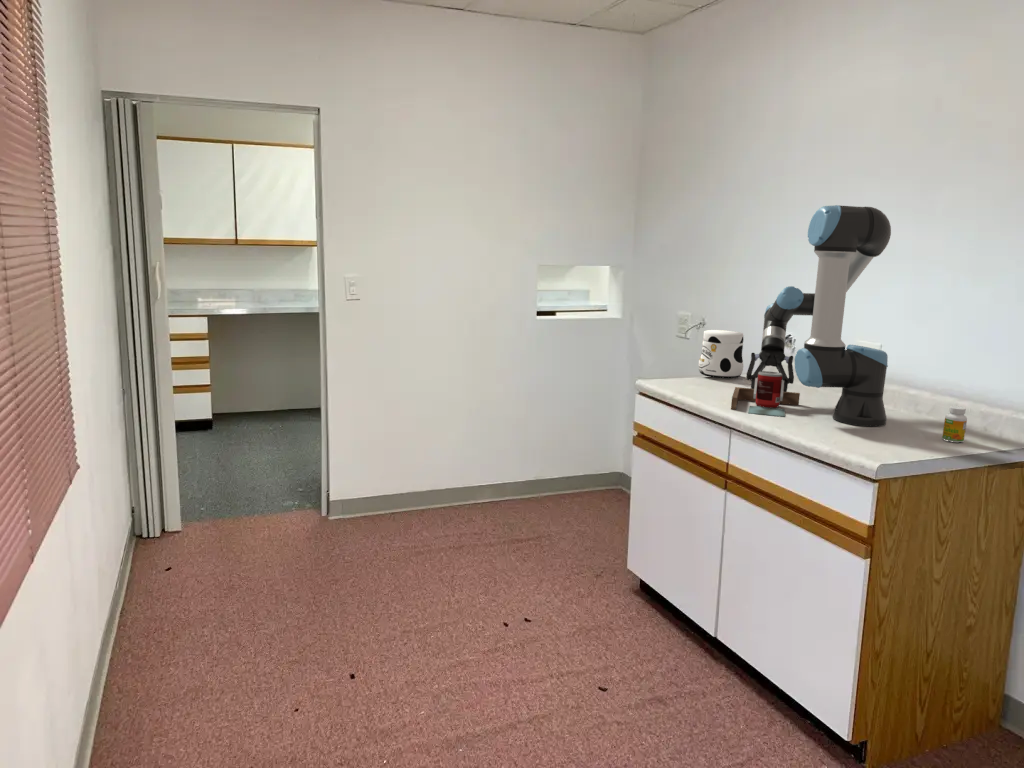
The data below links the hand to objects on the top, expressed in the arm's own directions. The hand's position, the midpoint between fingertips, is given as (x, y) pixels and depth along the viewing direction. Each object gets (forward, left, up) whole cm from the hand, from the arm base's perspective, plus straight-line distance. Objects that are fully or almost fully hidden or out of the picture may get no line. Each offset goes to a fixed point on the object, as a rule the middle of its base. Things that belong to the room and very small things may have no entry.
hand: (767, 397), depth 250 cm
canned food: (+2, -3, -4) cm, 5 cm away
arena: (0, 0, -4) cm, 4 cm away
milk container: (+48, -28, -4) cm, 56 cm away
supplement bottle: (-52, -17, -4) cm, 55 cm away
